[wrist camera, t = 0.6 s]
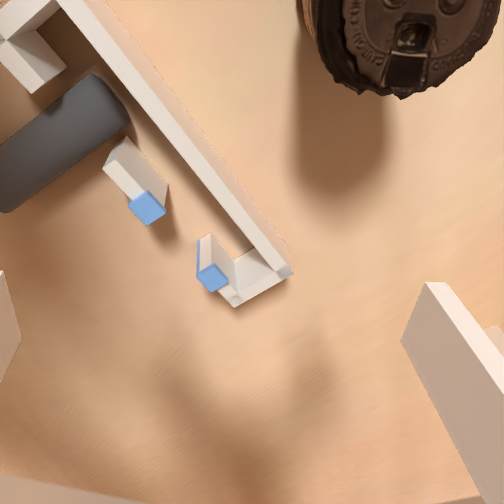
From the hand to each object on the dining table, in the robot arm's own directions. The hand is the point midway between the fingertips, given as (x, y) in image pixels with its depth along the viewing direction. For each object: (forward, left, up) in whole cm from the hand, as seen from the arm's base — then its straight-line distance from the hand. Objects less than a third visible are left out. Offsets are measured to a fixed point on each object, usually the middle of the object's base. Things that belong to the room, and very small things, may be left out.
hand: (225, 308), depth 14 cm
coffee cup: (-1, +12, -23) cm, 26 cm away
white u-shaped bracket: (+1, -5, -23) cm, 23 cm away
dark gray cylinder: (-5, -11, -23) cm, 26 cm away
